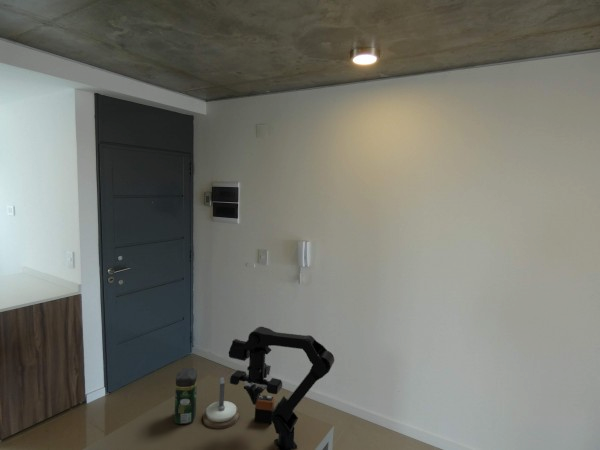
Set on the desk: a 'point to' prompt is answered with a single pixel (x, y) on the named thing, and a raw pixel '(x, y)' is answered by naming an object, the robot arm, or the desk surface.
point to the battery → (264, 409)
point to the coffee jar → (185, 396)
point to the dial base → (220, 424)
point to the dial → (221, 407)
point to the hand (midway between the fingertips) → (254, 404)
